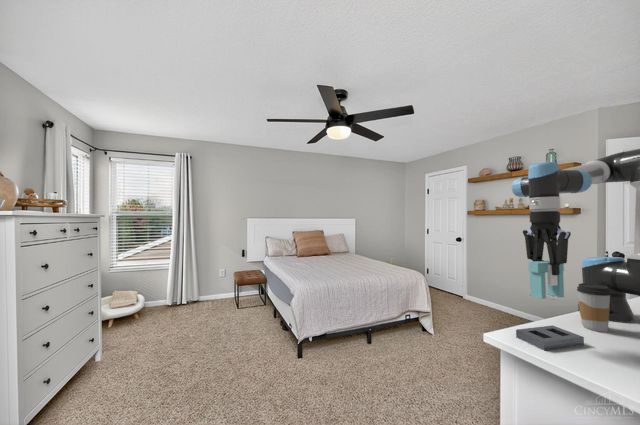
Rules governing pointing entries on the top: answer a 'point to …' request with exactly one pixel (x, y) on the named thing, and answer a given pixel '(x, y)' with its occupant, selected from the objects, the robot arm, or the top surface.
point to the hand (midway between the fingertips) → (546, 283)
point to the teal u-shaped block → (538, 280)
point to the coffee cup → (594, 306)
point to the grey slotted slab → (549, 337)
